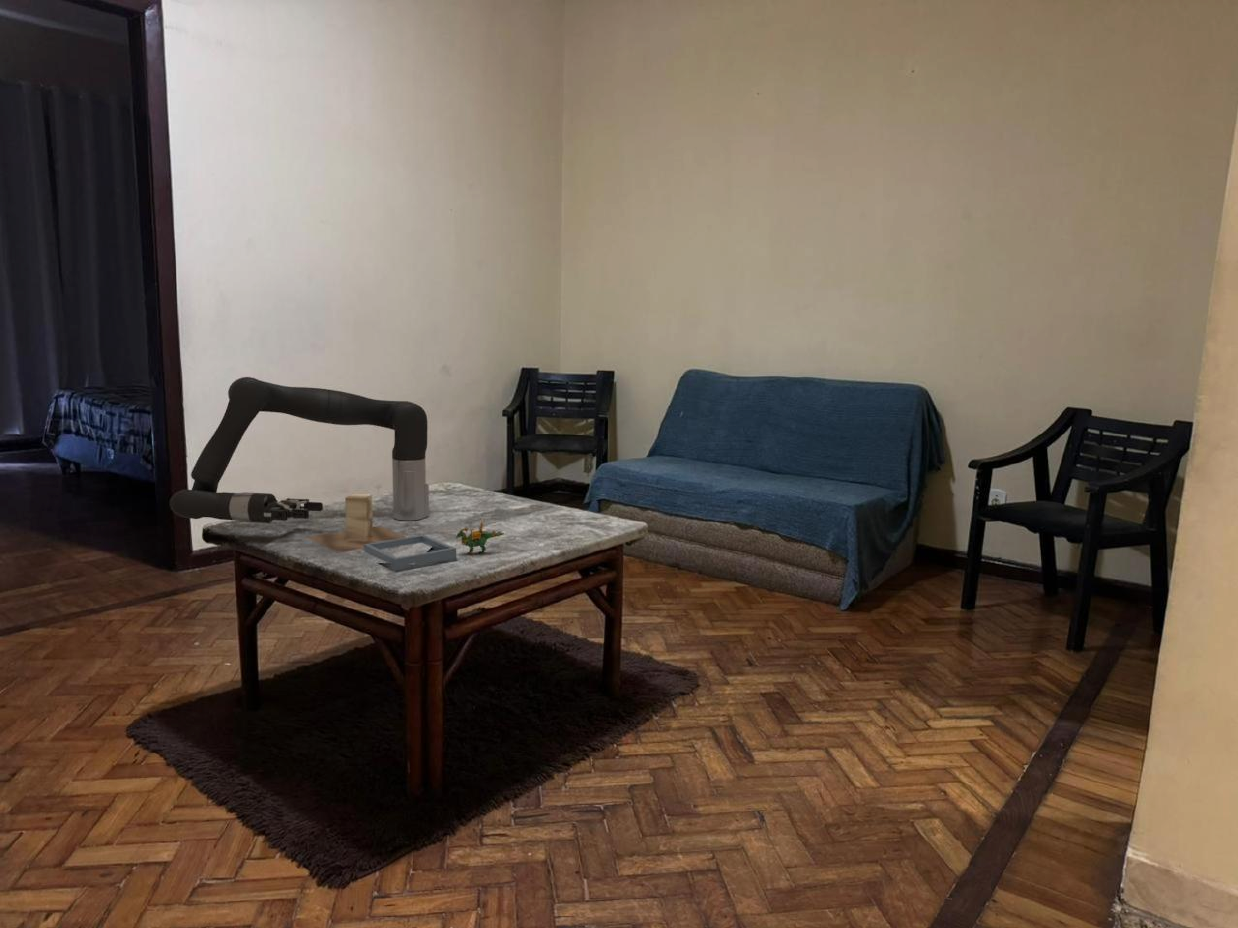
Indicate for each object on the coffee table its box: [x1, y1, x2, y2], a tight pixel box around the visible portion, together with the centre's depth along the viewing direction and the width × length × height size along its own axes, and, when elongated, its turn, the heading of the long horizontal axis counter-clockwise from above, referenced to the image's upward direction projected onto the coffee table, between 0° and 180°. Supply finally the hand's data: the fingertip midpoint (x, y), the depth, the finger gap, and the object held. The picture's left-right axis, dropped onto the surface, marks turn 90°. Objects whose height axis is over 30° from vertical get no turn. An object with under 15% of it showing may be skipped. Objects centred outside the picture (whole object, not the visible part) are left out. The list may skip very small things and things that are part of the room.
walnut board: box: [307, 525, 407, 553], centre depth 222 cm, size 20×18×2 cm
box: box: [363, 534, 457, 573], centre depth 210 cm, size 16×16×3 cm
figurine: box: [455, 521, 505, 556], centre depth 216 cm, size 3×12×8 cm, turn 107°
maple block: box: [344, 493, 374, 541], centre depth 221 cm, size 5×5×11 cm
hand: (315, 510), depth 221 cm, fingers open, 8 cm apart
